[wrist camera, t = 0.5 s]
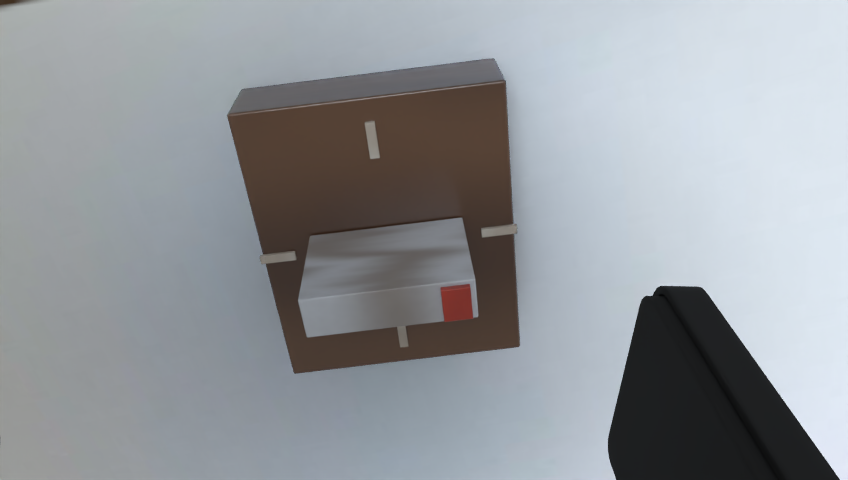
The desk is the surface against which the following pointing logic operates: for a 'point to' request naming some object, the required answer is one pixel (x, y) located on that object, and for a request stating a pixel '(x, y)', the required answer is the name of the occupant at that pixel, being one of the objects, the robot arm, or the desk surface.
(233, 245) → the desk surface
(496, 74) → the tap console
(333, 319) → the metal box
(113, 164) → the desk surface
